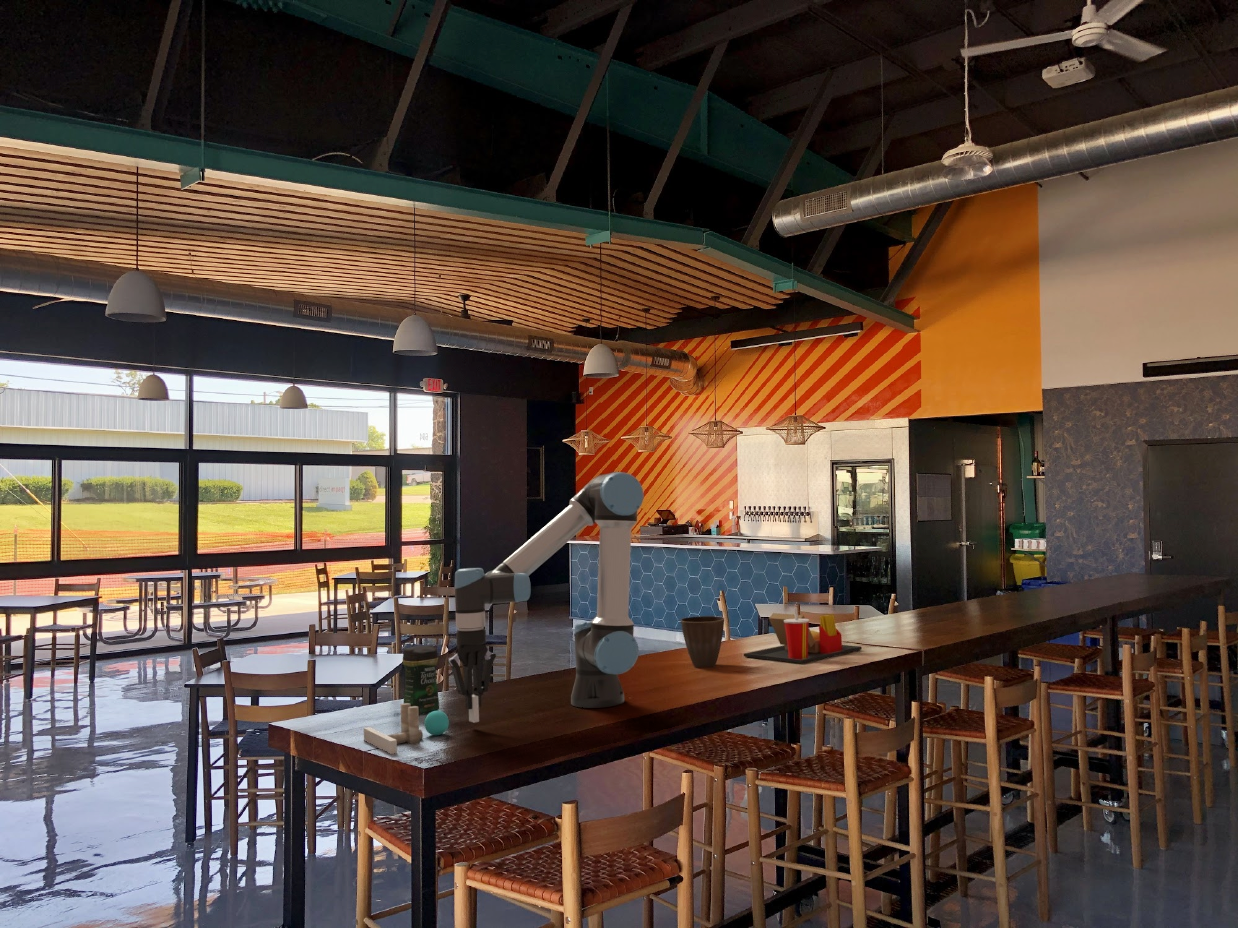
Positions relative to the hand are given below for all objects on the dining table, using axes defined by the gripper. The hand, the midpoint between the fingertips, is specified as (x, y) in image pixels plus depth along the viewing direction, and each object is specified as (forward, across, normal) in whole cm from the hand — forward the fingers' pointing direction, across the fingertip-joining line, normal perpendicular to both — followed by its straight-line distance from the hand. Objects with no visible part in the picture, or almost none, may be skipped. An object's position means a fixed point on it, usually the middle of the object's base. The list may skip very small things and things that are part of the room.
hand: (474, 721), depth 237 cm
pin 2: (+2, +17, +2) cm, 18 cm away
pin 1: (+2, +17, -2) cm, 18 cm away
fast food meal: (+3, -138, -18) cm, 139 cm away
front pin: (+1, +14, 0) cm, 15 cm away
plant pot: (+2, -99, -26) cm, 102 cm away
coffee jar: (+2, +2, -29) cm, 29 cm away
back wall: (+2, +25, 0) cm, 25 cm away
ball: (-1, +10, -1) cm, 10 cm away
